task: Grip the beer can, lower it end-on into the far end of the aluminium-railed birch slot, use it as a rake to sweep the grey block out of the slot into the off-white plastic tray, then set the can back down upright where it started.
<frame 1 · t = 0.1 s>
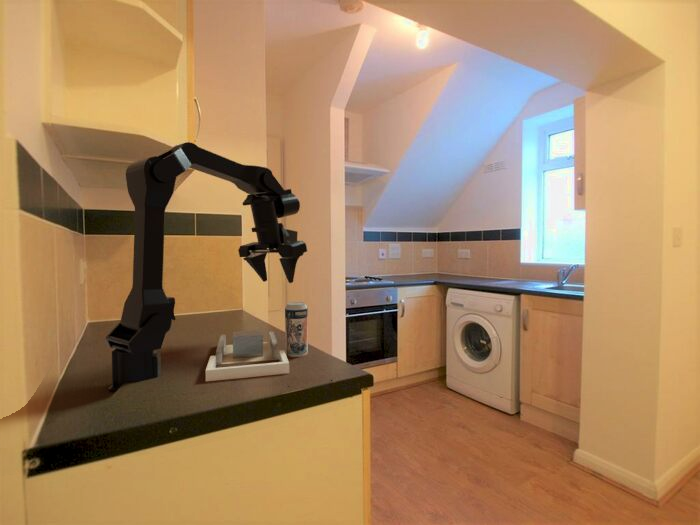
hand: (277, 281, 91), 15 cm above the worktop, tool pointing down, fingers open, 9 cm apart
grey block: (248, 354, 76), point 1 cm above the worktop, touching slot plate
slot plate: (248, 357, 78), on the worktop
tray: (248, 375, 66), on the worktop
beer can: (296, 360, 76), on the worktop
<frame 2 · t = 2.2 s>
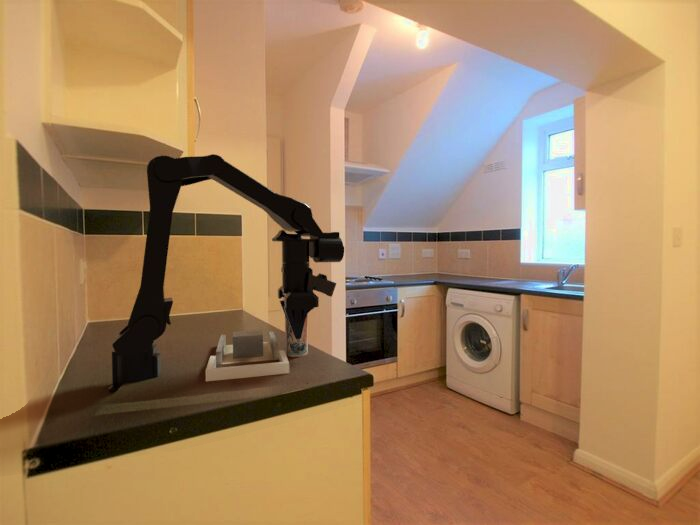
hand: (296, 335, 76), 5 cm above the worktop, tool pointing down, fingers closed on beer can, 5 cm apart
beer can: (296, 360, 76), on the worktop, touching gripper
everything else where it was.
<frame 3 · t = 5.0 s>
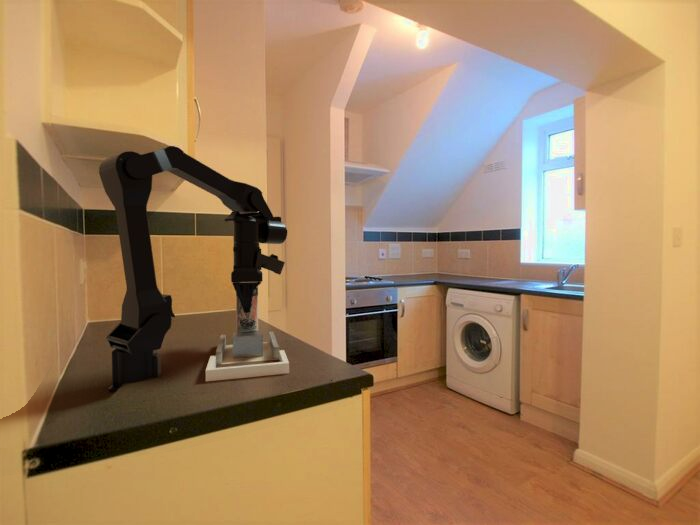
hand: (247, 310, 82), 10 cm above the worktop, tool pointing down, fingers closed on beer can, 5 cm apart
beer can: (247, 335, 82), point 4 cm above the worktop, touching gripper
everything else where it was.
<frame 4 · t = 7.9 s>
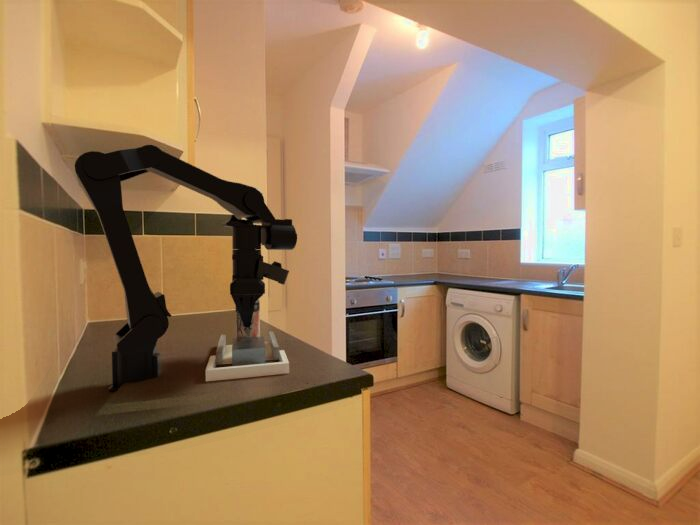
hand: (247, 324, 74), 8 cm above the worktop, tool pointing down, fingers closed on beer can, 5 cm apart
grey block: (248, 364, 69), point 1 cm above the worktop, tilted 11°, touching slot plate
beer can: (248, 355, 74), point 1 cm above the worktop, touching gripper
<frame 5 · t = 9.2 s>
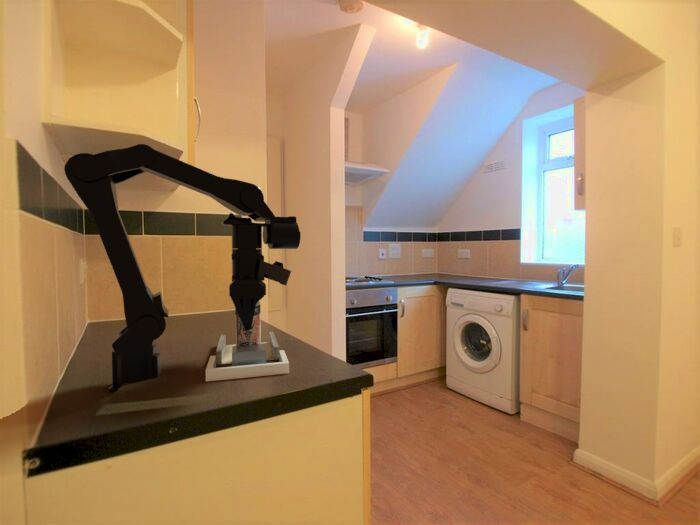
hand: (247, 327, 71), 8 cm above the worktop, tool pointing down, fingers closed on beer can, 5 cm apart
grey block: (249, 371, 67), point 1 cm above the worktop, touching beer can, tray
beer can: (248, 359, 71), point 1 cm above the worktop, touching grey block, gripper
when the fingers open (7 cm above the worktop, at t = 13.1 s): beer can stays where it is, on the worktop.
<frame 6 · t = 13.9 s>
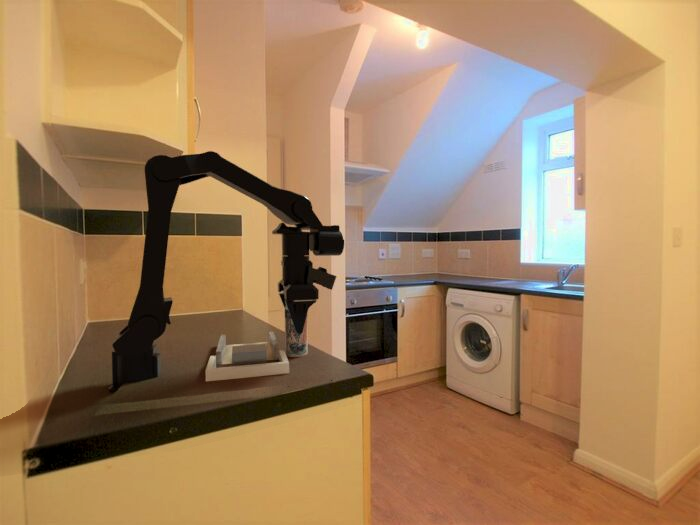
hand: (296, 328, 76), 7 cm above the worktop, tool pointing down, fingers open, 9 cm apart
grey block: (249, 372, 66), resting on tray
beer can: (296, 360, 76), on the worktop
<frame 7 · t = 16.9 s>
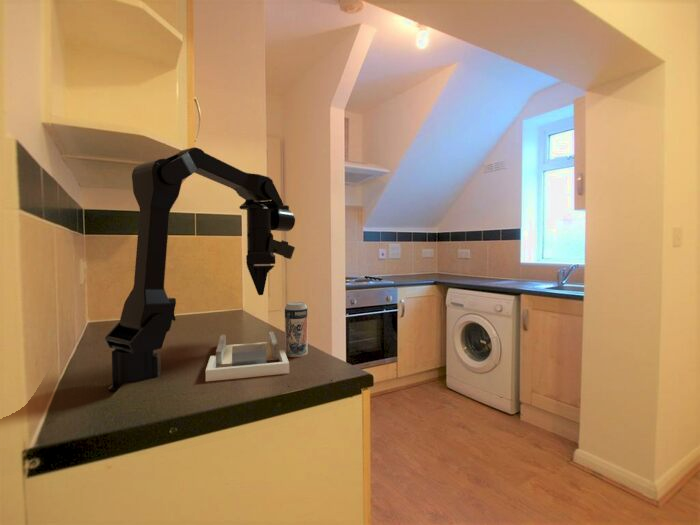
hand: (259, 292, 87), 13 cm above the worktop, tool pointing down, fingers open, 9 cm apart
nothing on the worktop moved.
at the end: grey block inside the target area (0.3 cm from its centre), point 0.5 cm above the worktop; beer can tilted 0° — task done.
